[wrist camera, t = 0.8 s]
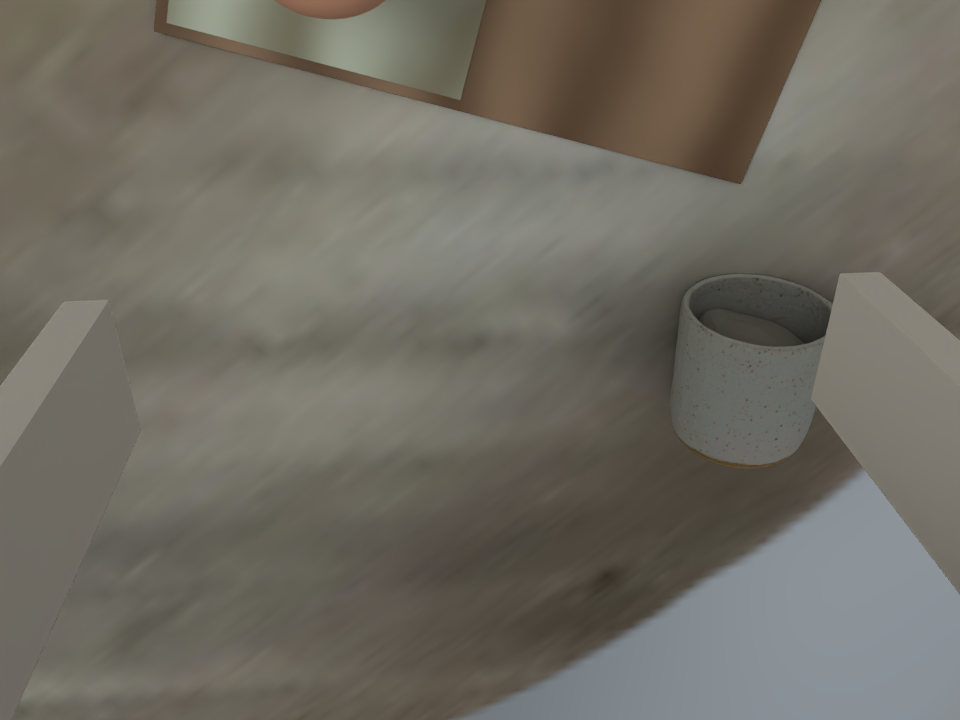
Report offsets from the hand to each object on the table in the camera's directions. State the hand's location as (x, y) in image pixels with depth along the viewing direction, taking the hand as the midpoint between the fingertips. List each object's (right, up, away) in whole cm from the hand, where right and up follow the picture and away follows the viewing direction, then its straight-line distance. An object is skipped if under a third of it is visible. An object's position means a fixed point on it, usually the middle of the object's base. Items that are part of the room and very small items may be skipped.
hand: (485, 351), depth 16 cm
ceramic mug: (+15, +1, +32) cm, 35 cm away
